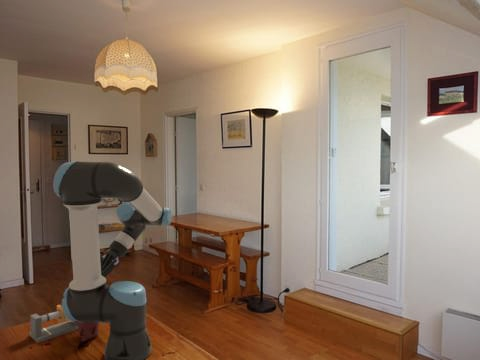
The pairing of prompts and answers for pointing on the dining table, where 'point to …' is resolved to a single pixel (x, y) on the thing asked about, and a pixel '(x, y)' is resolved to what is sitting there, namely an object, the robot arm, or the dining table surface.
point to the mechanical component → (87, 329)
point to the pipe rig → (50, 331)
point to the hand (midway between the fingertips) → (83, 292)
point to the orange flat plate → (62, 318)
